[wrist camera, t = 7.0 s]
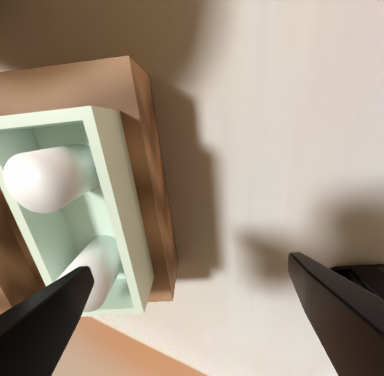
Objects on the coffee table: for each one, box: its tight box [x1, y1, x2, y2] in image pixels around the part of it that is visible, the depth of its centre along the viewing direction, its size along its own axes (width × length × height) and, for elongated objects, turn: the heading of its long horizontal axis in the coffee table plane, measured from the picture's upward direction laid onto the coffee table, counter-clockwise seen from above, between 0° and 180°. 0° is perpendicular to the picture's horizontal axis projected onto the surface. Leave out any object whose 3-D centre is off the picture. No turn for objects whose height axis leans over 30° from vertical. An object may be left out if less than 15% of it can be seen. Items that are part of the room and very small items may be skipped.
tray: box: [0, 106, 154, 317], centre depth 13 cm, size 14×6×5 cm, turn 6°
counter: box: [0, 55, 178, 314], centre depth 16 cm, size 20×14×8 cm
